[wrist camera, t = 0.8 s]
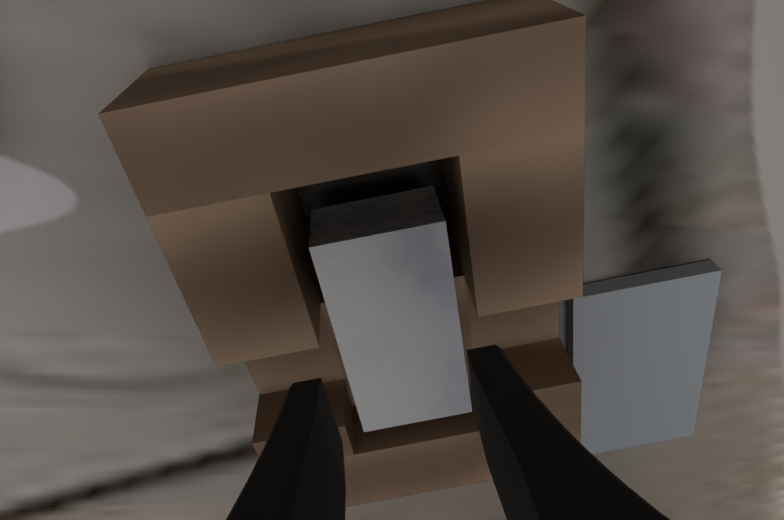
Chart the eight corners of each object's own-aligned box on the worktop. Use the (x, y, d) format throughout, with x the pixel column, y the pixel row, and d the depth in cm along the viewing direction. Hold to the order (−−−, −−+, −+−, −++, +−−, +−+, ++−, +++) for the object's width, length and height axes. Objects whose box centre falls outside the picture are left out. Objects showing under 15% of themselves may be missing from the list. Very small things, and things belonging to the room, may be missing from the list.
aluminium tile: (459, 365, 22) (472, 411, 20) (361, 384, 23) (363, 432, 21) (433, 185, 18) (445, 220, 16) (311, 209, 18) (308, 247, 16)
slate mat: (684, 423, 29) (693, 435, 28) (567, 444, 29) (573, 457, 28) (710, 259, 23) (721, 270, 23) (566, 287, 23) (573, 298, 23)
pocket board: (545, 384, 26) (580, 463, 23) (293, 432, 27) (286, 517, 23) (531, -9, 17) (586, 15, 14) (148, 69, 17) (98, 113, 14)
